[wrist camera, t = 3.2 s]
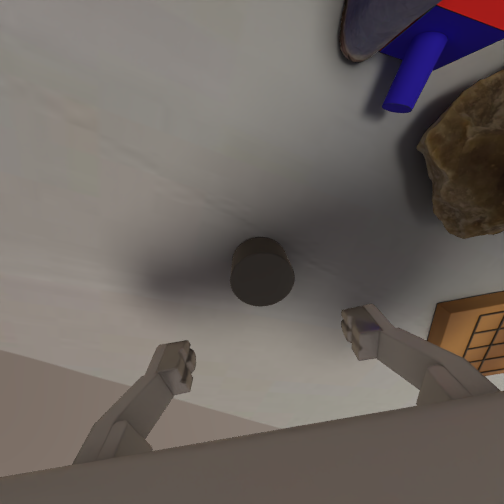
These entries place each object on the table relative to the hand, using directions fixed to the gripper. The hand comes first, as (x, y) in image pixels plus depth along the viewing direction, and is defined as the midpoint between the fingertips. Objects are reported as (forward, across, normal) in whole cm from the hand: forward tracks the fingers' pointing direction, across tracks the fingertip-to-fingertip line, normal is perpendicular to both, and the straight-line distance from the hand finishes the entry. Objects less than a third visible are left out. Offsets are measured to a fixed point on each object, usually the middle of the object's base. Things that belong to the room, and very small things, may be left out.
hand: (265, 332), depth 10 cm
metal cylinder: (+8, 0, 0) cm, 8 cm away
